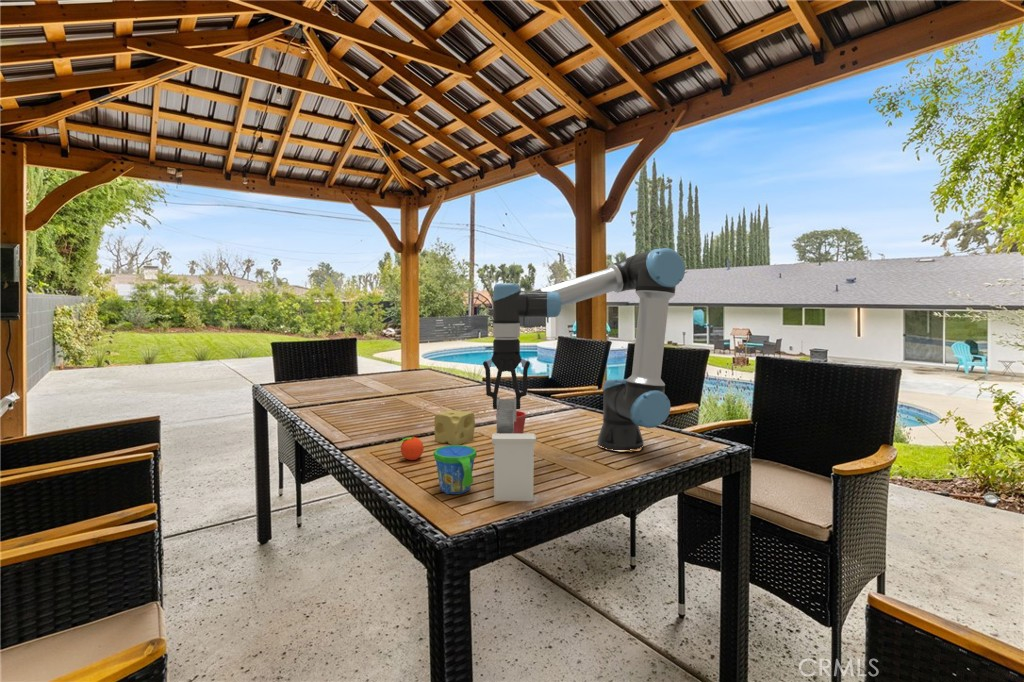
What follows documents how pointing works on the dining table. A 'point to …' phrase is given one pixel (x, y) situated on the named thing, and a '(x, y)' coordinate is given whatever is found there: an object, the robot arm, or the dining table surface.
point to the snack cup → (455, 468)
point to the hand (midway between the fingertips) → (506, 420)
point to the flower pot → (518, 423)
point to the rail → (505, 416)
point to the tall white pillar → (513, 466)
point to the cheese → (454, 427)
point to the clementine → (411, 448)
